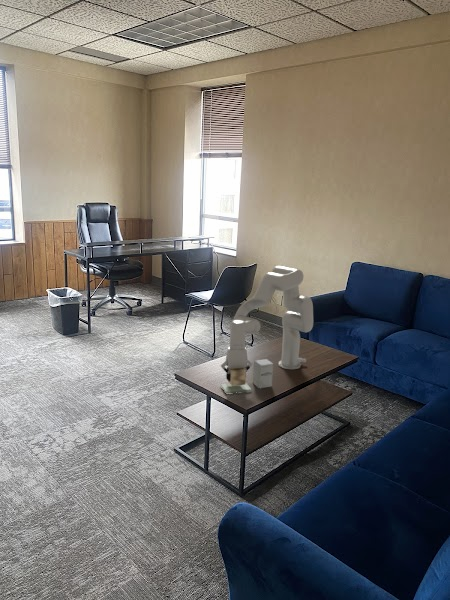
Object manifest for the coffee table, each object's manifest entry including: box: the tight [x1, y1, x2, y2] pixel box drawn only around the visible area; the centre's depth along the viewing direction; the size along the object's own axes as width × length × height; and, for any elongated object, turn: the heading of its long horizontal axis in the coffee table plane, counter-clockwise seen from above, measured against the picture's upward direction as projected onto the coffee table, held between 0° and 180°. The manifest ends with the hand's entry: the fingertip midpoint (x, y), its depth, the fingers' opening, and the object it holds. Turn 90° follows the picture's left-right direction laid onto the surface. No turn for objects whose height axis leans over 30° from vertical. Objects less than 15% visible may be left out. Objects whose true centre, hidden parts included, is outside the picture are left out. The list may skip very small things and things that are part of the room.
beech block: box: [226, 366, 247, 386], centre depth 230 cm, size 7×8×7 cm
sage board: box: [220, 382, 252, 394], centre depth 232 cm, size 13×9×2 cm
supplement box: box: [252, 358, 274, 389], centre depth 237 cm, size 7×7×13 cm
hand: (236, 379), depth 231 cm, fingers closed on beech block, 7 cm apart
